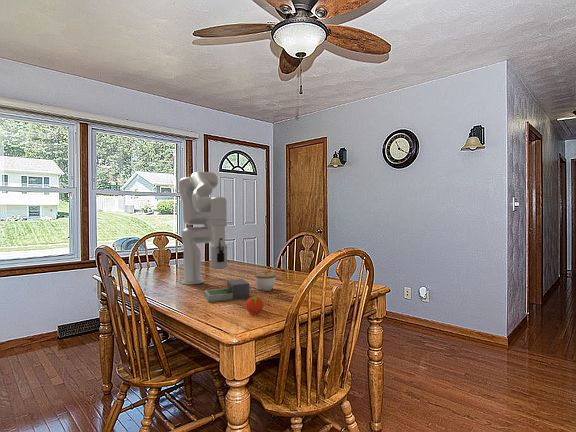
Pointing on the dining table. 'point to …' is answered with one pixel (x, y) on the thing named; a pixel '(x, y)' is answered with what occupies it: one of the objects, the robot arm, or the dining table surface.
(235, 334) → the dining table surface
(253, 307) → the tomato
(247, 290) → the frame
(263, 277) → the lidded jar
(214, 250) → the can
